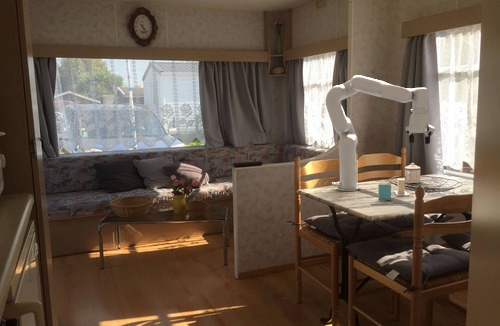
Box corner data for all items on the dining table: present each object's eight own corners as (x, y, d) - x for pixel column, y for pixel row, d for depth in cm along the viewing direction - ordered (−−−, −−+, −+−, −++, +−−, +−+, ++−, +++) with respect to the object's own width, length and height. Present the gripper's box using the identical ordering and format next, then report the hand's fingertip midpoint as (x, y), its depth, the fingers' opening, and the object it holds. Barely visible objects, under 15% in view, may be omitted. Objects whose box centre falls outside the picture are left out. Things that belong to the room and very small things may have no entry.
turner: (396, 196, 223) (396, 181, 221) (393, 192, 232) (393, 177, 231) (408, 196, 222) (409, 181, 220) (405, 191, 231) (405, 177, 230)
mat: (371, 206, 208) (371, 205, 207) (367, 199, 223) (367, 198, 223) (405, 206, 205) (405, 205, 205) (399, 198, 221) (399, 197, 220)
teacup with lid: (407, 180, 265) (407, 161, 263) (422, 181, 259) (423, 162, 257) (400, 183, 256) (400, 164, 254) (415, 185, 250) (415, 165, 248)
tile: (378, 200, 218) (378, 184, 216) (378, 199, 219) (378, 184, 218) (391, 199, 217) (390, 184, 215) (390, 199, 218) (390, 183, 217)
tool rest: (393, 198, 222) (393, 197, 221) (389, 193, 234) (389, 191, 234) (413, 198, 220) (413, 196, 220) (408, 192, 233) (408, 191, 232)
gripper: (401, 111, 234) (401, 143, 237) (430, 111, 220) (429, 144, 223) (410, 111, 238) (410, 141, 241) (438, 110, 224) (438, 143, 227)
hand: (419, 143), depth 232 cm, fingers open, 9 cm apart
